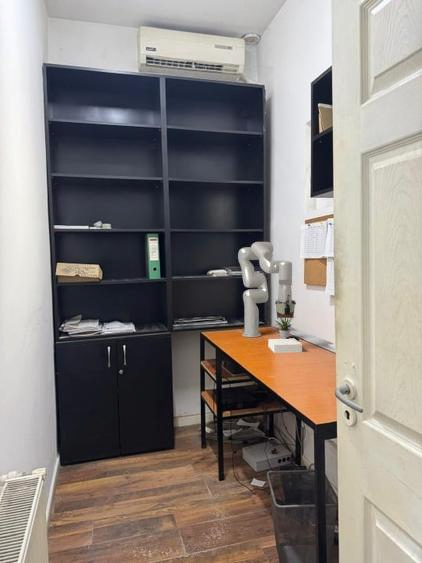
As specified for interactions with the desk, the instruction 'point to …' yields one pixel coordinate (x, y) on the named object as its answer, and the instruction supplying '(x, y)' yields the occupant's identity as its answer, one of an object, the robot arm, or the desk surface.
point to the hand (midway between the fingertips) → (285, 313)
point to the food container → (281, 307)
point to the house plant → (284, 328)
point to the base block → (284, 345)
